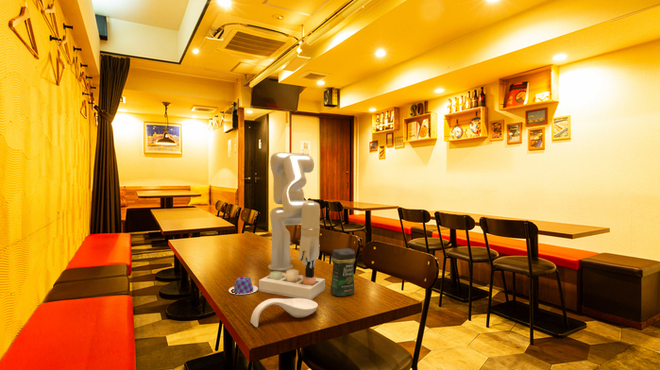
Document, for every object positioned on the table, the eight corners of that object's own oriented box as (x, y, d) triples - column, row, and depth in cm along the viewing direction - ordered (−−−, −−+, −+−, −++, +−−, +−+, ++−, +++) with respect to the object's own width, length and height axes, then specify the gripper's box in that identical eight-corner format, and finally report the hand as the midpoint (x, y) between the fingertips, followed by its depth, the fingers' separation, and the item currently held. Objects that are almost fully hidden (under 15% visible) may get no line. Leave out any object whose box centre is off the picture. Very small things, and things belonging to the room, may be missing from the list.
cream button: (290, 280, 146) (290, 268, 145) (300, 281, 143) (300, 270, 143) (283, 283, 141) (283, 271, 141) (294, 285, 139) (294, 273, 139)
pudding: (230, 286, 146) (230, 274, 146) (258, 285, 148) (258, 273, 148) (226, 296, 134) (226, 283, 134) (257, 295, 136) (257, 282, 136)
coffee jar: (337, 298, 134) (338, 252, 133) (327, 292, 141) (328, 248, 140) (357, 294, 138) (358, 249, 138) (347, 288, 145) (348, 246, 145)
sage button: (274, 281, 149) (274, 270, 149) (284, 283, 147) (284, 272, 147) (267, 285, 144) (267, 273, 144) (277, 287, 142) (278, 275, 142)
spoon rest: (306, 305, 127) (306, 286, 127) (324, 316, 117) (324, 295, 117) (246, 320, 113) (246, 298, 113) (260, 333, 104) (260, 310, 103)
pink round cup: (306, 285, 142) (306, 274, 142) (317, 287, 140) (317, 275, 140) (300, 289, 138) (300, 277, 137) (312, 291, 136) (312, 279, 135)
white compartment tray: (276, 281, 153) (277, 271, 153) (324, 289, 144) (325, 279, 144) (258, 290, 141) (258, 280, 140) (310, 300, 131) (310, 289, 131)
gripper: (310, 229, 147) (309, 271, 147) (293, 234, 133) (292, 280, 133) (326, 230, 144) (325, 273, 144) (310, 235, 130) (309, 283, 130)
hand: (309, 276), depth 139 cm, fingers closed
